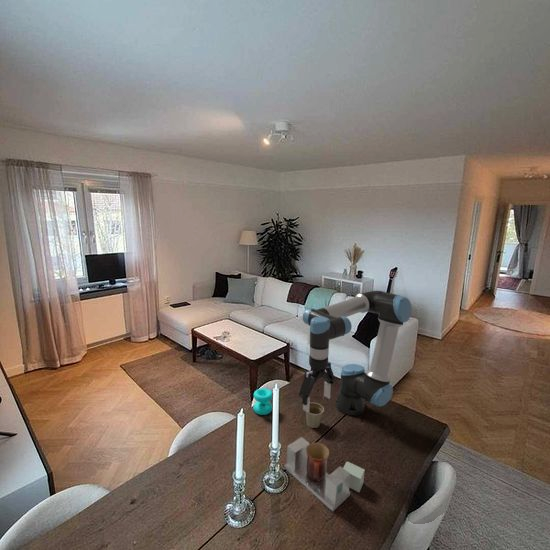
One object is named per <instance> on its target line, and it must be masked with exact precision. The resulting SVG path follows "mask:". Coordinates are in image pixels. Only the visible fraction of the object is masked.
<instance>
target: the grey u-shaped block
mask: <svg viewBox="0 0 550 550" xmlns="http://www.w3.org/2000/svg"><path fill="white" fill-rule="evenodd" d="M309 444H311V443H310V442H309V441H307V440H306V439H305V438H304V437H302V436H301V437H299V438H297V439H296V440H295V441H293V442H291V443H290V444H288V445H287V446H286V447H287V449H286V450H287V451H286V463H285V464H284V469H285V471H287V472H288V473H290V475H292V476H293V477H294V478H295V479H296V481H297V480H298V482H299V483H301V485H303V486H304V487H305V488H306V489H307V490H308V491H309V492H310V493H311V494H313V495H314V496H315V497H316V498H317V499H318V500H319V501H321V503H322V504H323V505H325V506H326V507H327V508H328V509H329V511H331V512H335V510H337V509H338V507H339V506H340V505H341V504H342V503H344V501H346V500H347V499H348V498H349V497H350V495H351V491H350V488H349V485H350V473H349V472H347V471H346V470H345V469H343V467H342V466H341V465H340V466H338V467H337V468H336V469H335V470H334V471H332V472H331V473H330V474H329V473H328V472H327V471H326V474H325V477H324V478H323V479H322V480H320V481H315V480H312V479H311V478H310V477H309V476H308V474H307V453H306V447H307V446H308V445H309Z"/></svg>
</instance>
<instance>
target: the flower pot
mask: <svg viewBox="0 0 550 550" xmlns="http://www.w3.org/2000/svg"><path fill="white" fill-rule="evenodd" d="M304 412H305V417H306V419H305V420H306V424H307V427H309V428H310V429H314V428H316V429H317V428H319V427H320V425H321V420H322V415H323V413H324V412H325V408H324V406H323V405H321V404H320V403H318V402H310V407H309V413H308V412H306V411H304Z"/></svg>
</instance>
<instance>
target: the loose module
mask: <svg viewBox="0 0 550 550" xmlns="http://www.w3.org/2000/svg"><path fill="white" fill-rule="evenodd" d="M342 468H343V469H345V470H346V471H347V472H349V473H350V485H349V489H352V490H353V491H355V492H357V493H360V492H361V490H362V487H363V485H364V482H365V481H364V479H365V470H366V469H364V468H362V467H360V466H358V465H356V464H354V463H351V462H350V461H346V462H345V464H344V466H343V467H342Z"/></svg>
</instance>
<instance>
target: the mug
mask: <svg viewBox="0 0 550 550" xmlns="http://www.w3.org/2000/svg"><path fill="white" fill-rule="evenodd" d="M306 453H307V474H308V476H309V477H310V478H311V479H312V480H315V481H320V480H322V479H323V478H324V477H325V474H326V472H327V460H328V457H329V456H330V450H329V448H328V447H327V446H326V445H325V444H323V443H320V442H311V443H310V444H309V445H308V446H307V447H306Z"/></svg>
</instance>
